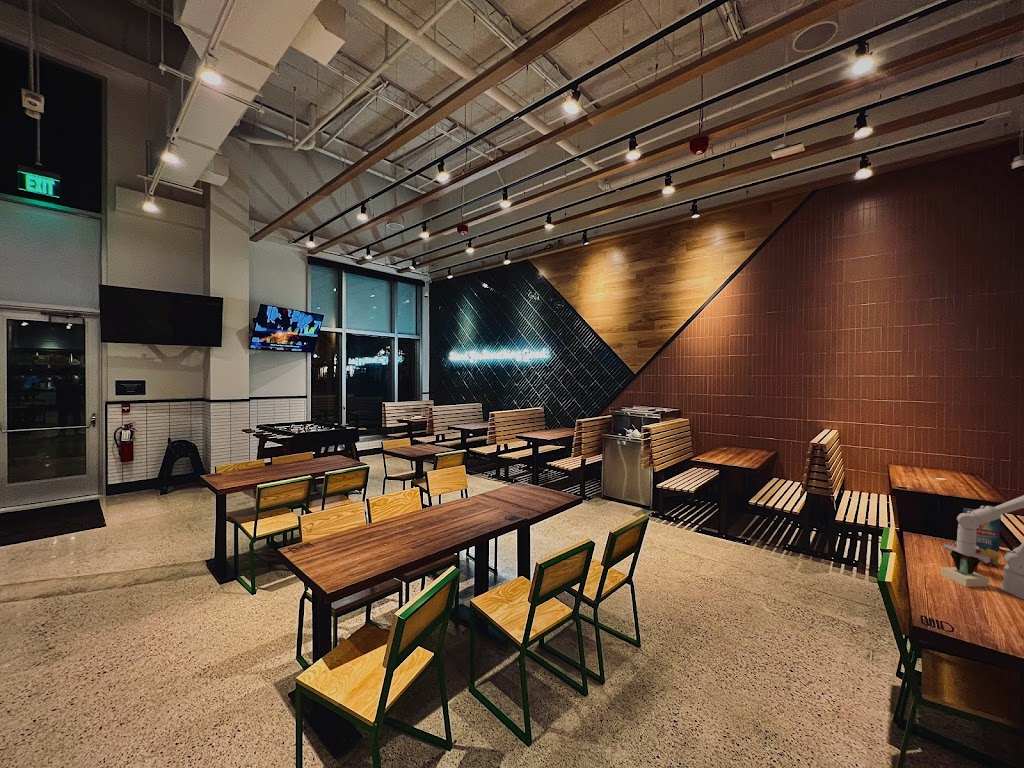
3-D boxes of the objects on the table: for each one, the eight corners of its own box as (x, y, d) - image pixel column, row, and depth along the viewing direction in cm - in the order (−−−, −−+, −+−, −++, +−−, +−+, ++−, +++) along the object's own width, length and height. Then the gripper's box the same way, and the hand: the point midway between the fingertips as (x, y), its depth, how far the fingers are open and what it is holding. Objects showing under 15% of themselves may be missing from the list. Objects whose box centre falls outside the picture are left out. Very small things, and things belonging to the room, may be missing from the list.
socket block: (988, 586, 181) (988, 578, 181) (965, 586, 181) (966, 578, 180) (962, 574, 191) (962, 567, 191) (941, 575, 191) (941, 567, 190)
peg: (971, 579, 184) (973, 561, 184) (965, 579, 184) (966, 561, 184) (963, 575, 187) (964, 557, 187) (956, 575, 187) (957, 557, 187)
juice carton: (960, 559, 206) (963, 511, 204) (960, 554, 211) (963, 507, 209) (997, 568, 197) (1000, 517, 196) (997, 563, 202) (1000, 514, 201)
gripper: (994, 546, 179) (992, 577, 180) (950, 533, 193) (948, 562, 194) (985, 549, 177) (983, 580, 178) (940, 535, 191) (939, 565, 191)
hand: (964, 571), depth 186 cm, fingers closed on peg, 3 cm apart
